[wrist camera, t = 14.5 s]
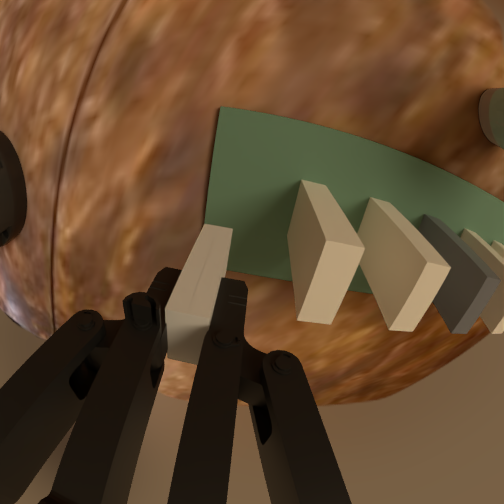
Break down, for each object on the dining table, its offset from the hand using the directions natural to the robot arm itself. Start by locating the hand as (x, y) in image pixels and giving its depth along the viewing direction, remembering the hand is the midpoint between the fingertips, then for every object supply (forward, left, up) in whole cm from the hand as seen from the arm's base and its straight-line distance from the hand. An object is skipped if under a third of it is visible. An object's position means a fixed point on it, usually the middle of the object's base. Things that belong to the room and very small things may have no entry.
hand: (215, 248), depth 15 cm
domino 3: (+24, 0, -8) cm, 25 cm away
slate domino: (+18, 0, -8) cm, 20 cm away
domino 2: (+12, 0, -8) cm, 14 cm away
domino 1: (+6, 0, -8) cm, 10 cm away
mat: (+18, 0, -9) cm, 20 cm away
